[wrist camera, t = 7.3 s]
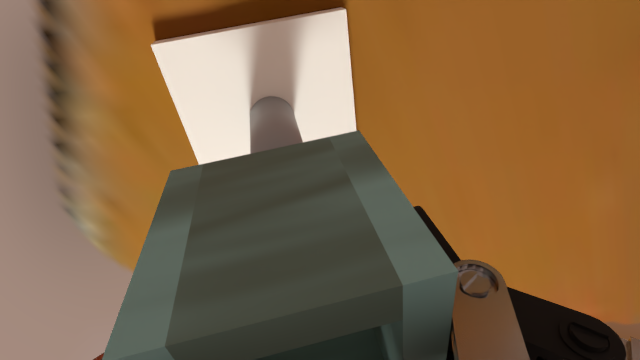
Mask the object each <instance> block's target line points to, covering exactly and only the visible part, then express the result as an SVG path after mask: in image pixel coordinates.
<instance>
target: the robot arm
mask: <svg viewBox="0 0 640 360" xmlns="http://www.w3.org/2000/svg"><path fill="white" fill-rule="evenodd" d="M413 208H414V209H415V211H416V212H417V213H418V215H419V216H420V218H421V219H422V220H423V222H424V223H425V225H426V226H427V228H428V229H429V230H430V232H431V233H432V235H433V236H434V237H435V239H436V240H437V242H438V243H439V245H440V246H441V247H442V249H443V250H444V252H445V253H446V254H447V256H448V257H449V259H450V260H451V262H452V263H453V264H454V266H455V267H456V269H457V270H458V276H457V283H456V291H455V298H454V306H453V313H452V321H451V328H450V335H449V343H448V350H447V358H446V360H640V340H639V339H636V338H633V337H630V339H629V340H625V339H622V338H620V337H619V336H618V335H617V334H616V333H615V332H614V331H613V330H612V329H611V328H610V327H609V326H607V325H606V324H604V323H603V322H601V321H600V320H598V319H596V318H594V317H591V316H589V315H587V314H584V313H581V312H578V311H575V310H572V309H569V308H567V307H564V306H561V305H558V304H555V303H552V302H549V301H546V300H544V299H541V298H538V297H535V296H532V295H529V294H526V293H523V292H520V291H518V290H515V289H512V288H509V287H507V286H506V283H505V281H504V279H503V277H502V275H501V274H500V273H499V272H498V271H497V270H496V269H495V268H493V267H492V266H490V265H489V264H486V263H484V262H481V261H477V260H460V258H459V257H458V256H457V254H456V253H455V252H454V250H453V249H452V248H451V246H450V245H449V244H448V242H447V241H446V239H445V238H444V237H443V235H442V234H441V233H440V231H439V230H438V229H437V227H436V226H435V225H434V223H433V222H432V221H431V219H430V218H429V217H428V215H427V214H426V212H425V211H424V210H423V209H422V208H421V207H420V206H415V207H413ZM103 355H104V353H102V354H101V355H99V356H98V357H96V358H95V359H93V360H102V358H103Z"/></svg>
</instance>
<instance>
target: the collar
mask: <svg viewBox="0 0 640 360" xmlns="http://www.w3.org/2000/svg"><path fill="white" fill-rule="evenodd" d="M457 276H458V270H457V269H456V267H455V266H454V264H453V263H452V262H451V260H450V259H449V257H448V256H447V254H446V253H445V252H444V250H443V249H442V247H441V246H440V245H439V243H438V242H437V240H436V239H435V237H434V236H433V235H432V233H431V232H430V230H429V229H428V228H427V226H426V225H425V223H424V222H423V220H422V219H421V218H420V216H419V215H418V213H417V212H416V211H415V209H414V208H413V206H412V205H411V203H410V202H409V201H408V199H407V198H406V196H405V195H404V194H403V192H402V191H401V189H400V188H399V186H398V185H397V184H396V182H395V181H394V179H393V178H392V177H391V175H390V174H389V172H388V171H387V169H386V168H385V167H384V165H383V164H382V162H381V161H380V160H379V158H378V157H377V155H376V154H375V152H374V151H373V150H372V148H371V147H370V145H369V144H368V143H367V141H366V140H365V138H364V137H363V135H362V134H361V133H360V131H359V130H358V131H354V132H349V133H344V134H340V135H335V136H330V137H326V138H321V139H317V140H312V141H307V142H303V143H298V144H293V145H289V146H284V147H279V148H275V149H270V150H265V151H261V152H256V153H252V154H247V155H242V156H238V157H233V158H228V159H224V160H219V161H214V162H210V163H205V164H201V165H196V166H191V167H187V168H182V169H177V170H173V171H170V174H169V177H168V180H167V182H166V185H165V188H164V191H163V193H162V196H161V199H160V202H159V204H158V207H157V210H156V213H155V215H154V218H153V221H152V224H151V226H150V229H149V232H148V235H147V237H146V240H145V243H144V245H143V248H142V251H141V254H140V256H139V259H138V262H137V265H136V267H135V270H134V273H133V276H132V278H131V281H130V284H129V287H128V289H127V292H126V295H125V298H124V300H123V303H122V306H121V309H120V312H119V314H118V317H117V320H116V323H115V325H114V328H113V330H112V333H111V336H110V339H109V342H108V345H107V347H106V350H105V352H104V355H103V358H102V360H446V358H447V350H448V343H449V335H450V328H451V321H452V313H453V306H454V298H455V291H456V283H457Z"/></svg>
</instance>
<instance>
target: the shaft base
mask: <svg viewBox="0 0 640 360" xmlns="http://www.w3.org/2000/svg"><path fill="white" fill-rule="evenodd" d="M151 47H152V49H153V52H154V54H155V57H156V59H157V62H158V64H159V67H160V69H161V72H162V74H163V77H164V79H165V82H166V84H167V86H168V89H169V91H170V94H171V96H172V99H173V101H174V104H175V106H176V109H177V111H178V114H179V116H180V119H181V121H182V124H183V126H184V128H185V131H186V133H187V136H188V138H189V141H190V143H191V146H192V148H193V151H194V153H195V156H196V158H197V161H198V163H199V165H201V164H205V163H210V162H214V161H219V160H224V159H228V158H233V157H238V156H242V155H247V154H252V153H256V152H261V151H265V150H270V149H275V148H279V147H284V146H289V145H293V144H298V143H303V142H307V141H312V140H317V139H321V138H326V137H330V136H335V135H340V134H344V133H349V132H354V131H356V120H355V108H354V96H353V85H352V73H351V61H350V49H349V38H348V26H347V14H346V9H345V8H342V7H339V8H334V9H329V10H323V11H318V12H312V13H307V14H301V15H296V16H290V17H285V18H279V19H274V20H268V21H263V22H257V23H252V24H246V25H241V26H235V27H230V28H225V29H219V30H214V31H208V32H203V33H197V34H192V35H186V36H181V37H175V38H170V39H164V40H159V41H155V42H154V43H152V44H151Z"/></svg>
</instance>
